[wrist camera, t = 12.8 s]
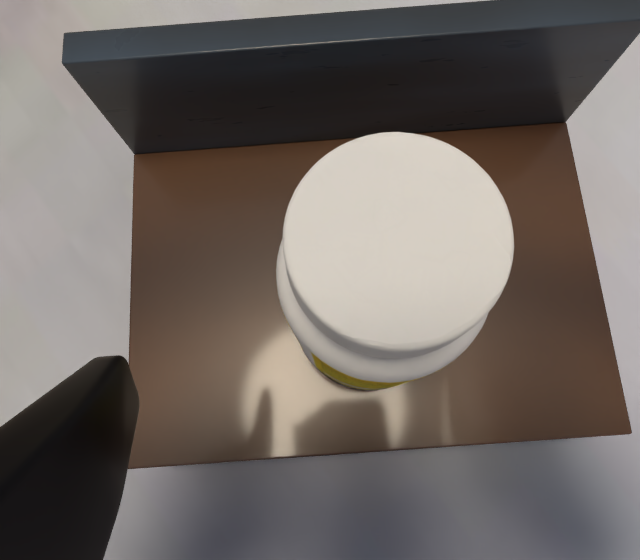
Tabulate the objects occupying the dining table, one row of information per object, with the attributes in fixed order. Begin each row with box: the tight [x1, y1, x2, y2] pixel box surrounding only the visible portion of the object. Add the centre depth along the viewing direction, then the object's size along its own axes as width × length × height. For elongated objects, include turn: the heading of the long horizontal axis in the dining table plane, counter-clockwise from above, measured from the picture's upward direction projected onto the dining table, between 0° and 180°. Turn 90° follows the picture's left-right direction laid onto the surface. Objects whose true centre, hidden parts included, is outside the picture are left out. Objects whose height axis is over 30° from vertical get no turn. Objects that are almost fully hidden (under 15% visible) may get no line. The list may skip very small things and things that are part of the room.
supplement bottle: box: [276, 132, 514, 391], centre depth 12 cm, size 5×5×8 cm
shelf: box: [62, 0, 640, 469], centre depth 16 cm, size 12×16×9 cm
